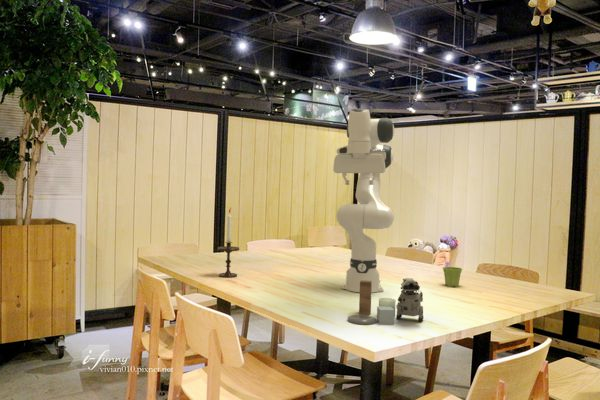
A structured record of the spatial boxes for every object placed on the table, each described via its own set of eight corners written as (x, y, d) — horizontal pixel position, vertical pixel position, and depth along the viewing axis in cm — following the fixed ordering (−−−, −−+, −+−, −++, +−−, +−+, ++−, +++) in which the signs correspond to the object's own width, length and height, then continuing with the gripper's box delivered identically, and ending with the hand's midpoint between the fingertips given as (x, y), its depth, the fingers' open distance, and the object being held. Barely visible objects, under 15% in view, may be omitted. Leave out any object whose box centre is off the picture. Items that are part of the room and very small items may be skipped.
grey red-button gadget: (392, 323, 175) (394, 280, 174) (399, 316, 185) (400, 275, 185) (419, 327, 171) (420, 282, 171) (424, 319, 182) (426, 277, 181)
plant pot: (438, 285, 247) (438, 267, 247) (447, 283, 254) (448, 266, 253) (456, 288, 240) (457, 270, 240) (465, 286, 247) (465, 268, 247)
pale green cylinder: (378, 313, 188) (379, 297, 188) (395, 314, 187) (395, 298, 187) (377, 317, 182) (378, 300, 182) (394, 318, 181) (395, 302, 181)
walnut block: (360, 311, 190) (361, 279, 190) (370, 312, 189) (371, 280, 189) (358, 314, 186) (359, 281, 186) (369, 315, 185) (370, 282, 185)
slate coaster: (349, 316, 183) (349, 314, 183) (377, 318, 181) (377, 316, 180) (345, 323, 173) (346, 321, 173) (375, 325, 171) (375, 323, 171)
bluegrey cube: (376, 320, 178) (377, 306, 178) (390, 320, 179) (391, 306, 178) (379, 324, 173) (380, 309, 173) (394, 324, 174) (394, 310, 173)
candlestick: (242, 277, 255) (244, 207, 254) (222, 278, 249) (224, 207, 248) (232, 273, 264) (234, 206, 263) (213, 275, 258) (215, 206, 257)
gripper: (386, 149, 199) (386, 184, 200) (335, 150, 204) (335, 184, 204) (385, 148, 193) (385, 185, 193) (332, 149, 198) (332, 184, 198)
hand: (359, 184), depth 199 cm, fingers open, 8 cm apart
